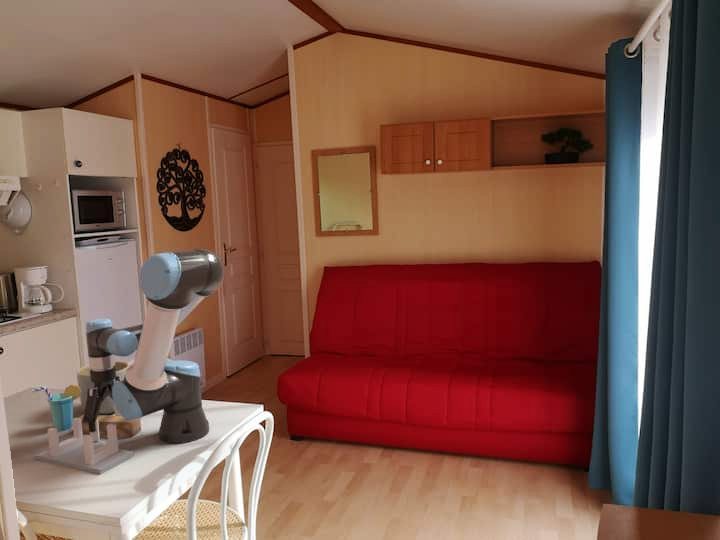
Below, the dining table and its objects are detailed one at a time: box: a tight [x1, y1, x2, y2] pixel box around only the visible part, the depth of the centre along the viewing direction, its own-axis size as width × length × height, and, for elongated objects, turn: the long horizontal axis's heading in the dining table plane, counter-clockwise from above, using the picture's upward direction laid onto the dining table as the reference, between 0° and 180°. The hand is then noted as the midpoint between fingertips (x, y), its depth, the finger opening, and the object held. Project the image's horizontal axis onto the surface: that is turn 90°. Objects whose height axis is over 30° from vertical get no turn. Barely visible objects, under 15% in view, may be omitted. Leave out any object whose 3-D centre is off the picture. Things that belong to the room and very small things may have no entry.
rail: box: [78, 414, 142, 438], centre depth 186 cm, size 20×5×5 cm, turn 81°
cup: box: [31, 384, 81, 432], centre depth 190 cm, size 14×8×15 cm, turn 120°
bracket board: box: [34, 417, 135, 475], centre depth 168 cm, size 26×12×9 cm, turn 66°
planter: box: [76, 360, 130, 415], centre depth 206 cm, size 17×17×15 cm
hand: (108, 432), depth 187 cm, fingers open, 13 cm apart
